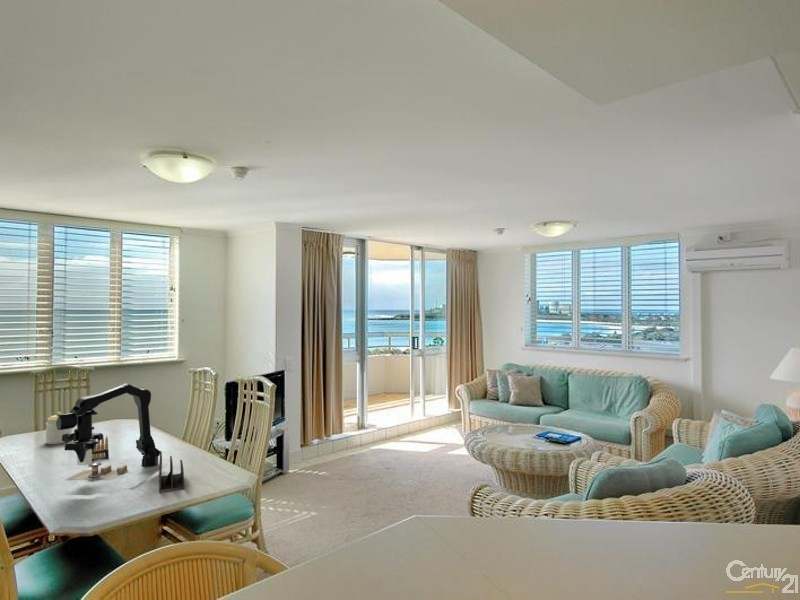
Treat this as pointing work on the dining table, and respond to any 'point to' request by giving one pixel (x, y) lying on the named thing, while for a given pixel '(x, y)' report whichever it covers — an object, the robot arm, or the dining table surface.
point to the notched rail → (108, 468)
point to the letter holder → (170, 478)
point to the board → (84, 476)
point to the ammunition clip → (100, 450)
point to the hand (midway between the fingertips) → (84, 460)
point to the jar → (55, 431)
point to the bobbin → (94, 469)
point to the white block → (86, 458)
